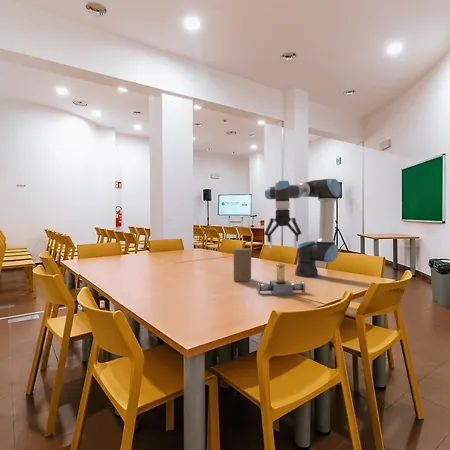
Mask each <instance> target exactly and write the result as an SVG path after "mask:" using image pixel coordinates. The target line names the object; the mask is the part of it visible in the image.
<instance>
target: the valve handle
mask: <svg viewBox="0 0 450 450" xmlns="http://www.w3.org/2000/svg"><path fill="white" fill-rule="evenodd" d="M275 265H276V281H277V284H284V281H286V280H285V279H286V277H285V273H286V272H285V267H286V264H285V263H276V264H275Z"/></svg>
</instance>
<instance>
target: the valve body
mask: <svg viewBox="0 0 450 450" xmlns="http://www.w3.org/2000/svg"><path fill="white" fill-rule="evenodd" d="M256 289H257V291H256V292H257V293H258V294H259V293H261V292H270V293H271V294H272V295H273V296H274V297H277V296H282V297H283V296H293V294H294V293H293V292H295V291H298V292H299V291H300V292H302V293H305V292H306V283H305V282H304V281H301V282H300V283H292V282H290V281H289V280H285V281H284V284H277V280H269V283H268V284H267V283H264V284H263V283H262V284H260V282H257V285H256Z"/></svg>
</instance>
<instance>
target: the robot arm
mask: <svg viewBox="0 0 450 450" xmlns="http://www.w3.org/2000/svg"><path fill="white" fill-rule="evenodd" d="M341 190H342V188H341V183H340V182H339V181H338V179H336V178H325V179H314V180H309V181H305V182H304V181H303V182H301V183H299V184H290V181H289V180H278V181H275V184H274V186H268V187H266V188H265V190H264V196H265V198H266V199H267V200H272V201H273V200H275V209H276V210H275V218H272V217H270V218H269V223H268V225H267V227H266V229H265V231H264V233H263V234H264V235H265V236H267V243H269V248H270V249H273V236H272V235H273V233H274V232H275V231H276V229H278V227H288V229H289V230H290V231H291V232H292V233H293V234H294V235H293V237H292V238H293V248H297V265H296V268H295V270H294V271H295V273H294V275H295V276H298V277H303V278H304V277H306V278H311V277H312V278H313V277H314V276H315V277H318V276H317V275H319V271H318V268H317V265H316V262H321V263H323V262H324V263H334V262H335V261H336V259H337V258H338V256H339V255H338V254H339V246H338V245H337V244H336V241H335V240H334V239H333V238H334V236H333V235H334V219H335V218H334V216H335V215H334V214H335V213H334V212H335V210H334V209H335V202H336V201H337V198H338V197H339V196H341V193H342V191H341ZM301 197H302V198H317V200H318V201H319V202H320V203H319V204H320V206H319V223H318V224H319V228H318V229H319V231H318V239H317V240H316V241H315V240H310V241H309V240H308V241H307V240H306V241H301V242H299V243H297V242H298V241H299V235H302V230H300V227H299V226H298V224H297V220H296V218H295V217H290V199H294V200H295V199H300V198H301ZM274 222H275V224H274V225H273V223H274ZM290 222H292V224H293V226H294V227H293V226H292V225H291V223H290ZM272 225H273V227H272ZM271 227H272V228H271ZM294 228H295V229H294ZM270 229H271V230H270ZM297 244H298V245H297Z"/></svg>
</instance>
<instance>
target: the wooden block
mask: <svg viewBox="0 0 450 450" xmlns="http://www.w3.org/2000/svg"><path fill="white" fill-rule="evenodd" d="M251 279H252V248H249V247H248V248H246V247H244V248H243V247H237V248H235V249H233V282H239V283H241V282H242V283H245V282H246V283H249V282H250V281H251Z"/></svg>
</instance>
